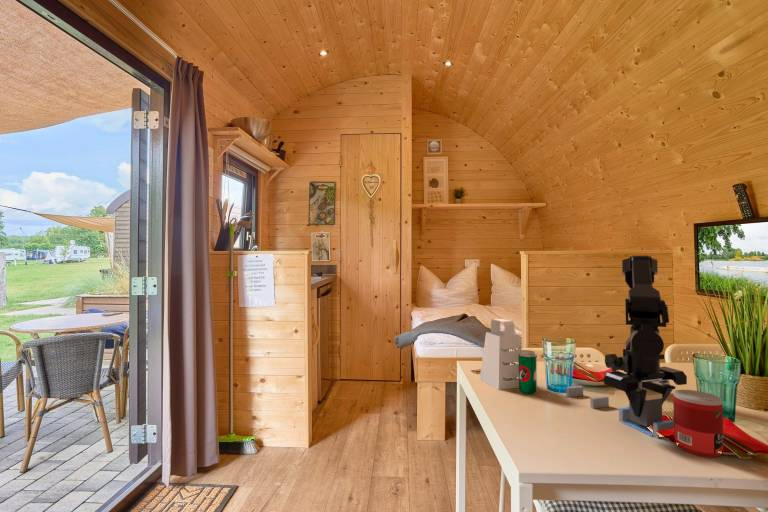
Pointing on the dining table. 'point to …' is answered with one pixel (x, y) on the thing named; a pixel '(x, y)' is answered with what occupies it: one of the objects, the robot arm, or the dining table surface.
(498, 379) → the grater
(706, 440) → the canned food
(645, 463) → the dining table surface
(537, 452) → the dining table surface
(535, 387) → the soda can
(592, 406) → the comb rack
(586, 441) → the dining table surface
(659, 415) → the box with lid
